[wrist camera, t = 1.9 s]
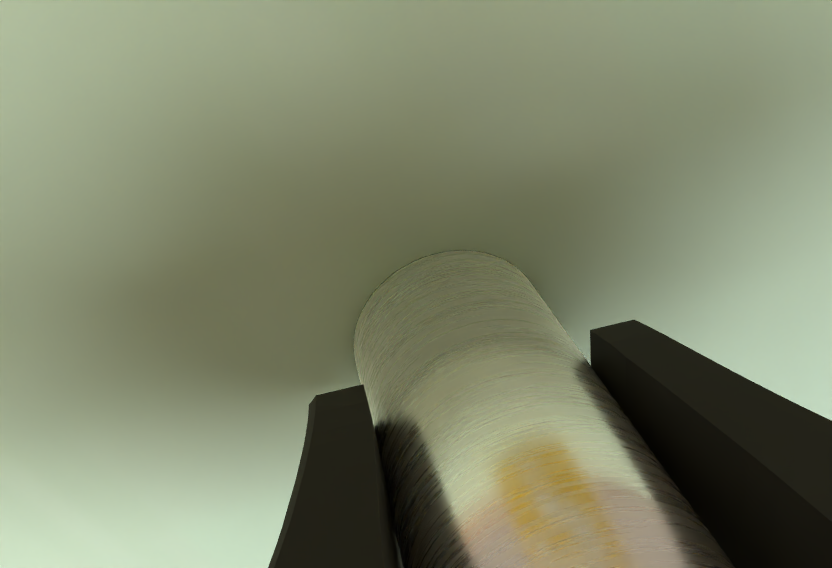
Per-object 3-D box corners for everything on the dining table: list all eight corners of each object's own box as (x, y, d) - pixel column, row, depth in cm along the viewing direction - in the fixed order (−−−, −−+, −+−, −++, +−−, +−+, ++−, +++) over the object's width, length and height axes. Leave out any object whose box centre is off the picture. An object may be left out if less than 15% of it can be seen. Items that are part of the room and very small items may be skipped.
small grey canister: (537, 231, 11) (918, 682, 5) (547, 391, 12) (841, 886, 6) (336, 275, 10) (464, 821, 4) (371, 434, 12) (502, 1003, 6)
